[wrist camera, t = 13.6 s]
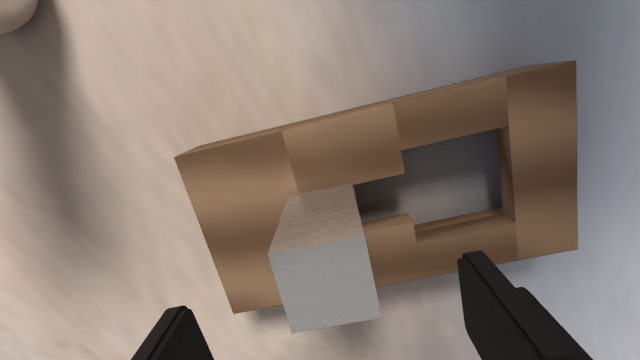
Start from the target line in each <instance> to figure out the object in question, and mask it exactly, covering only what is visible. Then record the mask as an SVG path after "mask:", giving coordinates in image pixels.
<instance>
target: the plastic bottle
mask: <svg viewBox="0 0 640 360" xmlns="http://www.w3.org/2000/svg"><path fill="white" fill-rule="evenodd" d="M37 5H38V0H0V34H4V33H9V32H12V31H14V30H16V29H18V28H20V27H21V26H22V25H24V24H25V23H26V22H27V21H29V20H30V19H31V17H32V16H33V15H34V13H35V11H36V8H37Z"/></svg>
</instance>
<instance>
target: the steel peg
mask: <svg viewBox="0 0 640 360" xmlns="http://www.w3.org/2000/svg"><path fill="white" fill-rule="evenodd" d="M267 255H268V258H269V261H270V264H271V267H272V271H273V274H274V277H275V280H276V283H277V287H278V290H279V293H280V296H281V299H282V303H283V306H284V309H285V312H286V315H287V319H288V322H289V325H290V328H291V331H292V333H296V332H302V331H308V330H314V329H320V328H326V327H331V326H337V325H343V324H349V323H355V322H361V321H366V320H372V319H378V318H382V316H381V311H380V306H379V302H378V297H377V292H376V287H375V283H374V278H373V273H372V268H371V263H370V259H369V254H368V249H367V244H366V240H365V235H364V231H363V227H362V223H361V219H360V215H359V211H358V207H357V195H356V191H355V187H354V185H352V183H350V184H345V185H340V186H335V187H331V188H326V189H321V190H316V191H312V192H307V193H302V194H298V195H293V196H289V197H288V199H287V202H286V205H285V208H284V210H283V213H282V216H281V219H280V221H279V224H278V227H277V230H276V232H275V235H274V238H273V241H272V243H271V246H270V249H269V252H268V254H267Z"/></svg>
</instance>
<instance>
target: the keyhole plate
mask: <svg viewBox="0 0 640 360" xmlns="http://www.w3.org/2000/svg"><path fill="white" fill-rule="evenodd" d="M493 129H496V131H497V144H498V156H499V169H500V181H501V193H502V206H503V207H502V208H497V209H492V210H487V211H482V212H477V213H472V214H467V215H462V216H458V217H453V218H448V219H443V220H438V221H433V222H428V223H423V224H418V225H414V224H413V221H412V220H411V218H410V216H409V215H408V214H403V215H398V216H393V217H388V218H384V219H379V220H374V221H369V222H364V223H362V227H363V231H364V235H365V240H366V244H367V249H368V254H369V259H370V263H371V268H372V273H373V278H374V283H375V287H379V286H384V285H389V284H395V283H400V282H405V281H411V280H416V279H421V278H427V277H432V276H437V275H443V274H448V273H453V272H458V264H457V260H458V259H460V258H462V254H463V253H467V252H472V251H477V250H482V251H483V252H484V253H485V254H486V255H487V257H488V258H489V259H490V260H491V261H492V262H493V263H494V264H495V265H496V264H501V263H506V262H512V261H517V260H522V259H528V258H533V257H538V256H544V255H549V254H554V253H560V252H565V251H570V250H576V249H578V243H577V119H576V60H575V61H566V62H557V63H548V64H539V65H530V66H526V67H522V68H518V69H514V70H510V71H506V72H501V73H497V74H493V75H489V76H485V77H481V78H477V79H473V80H469V81H464V82H460V83H456V84H452V85H448V86H444V87H440V88H436V89H431V90H427V91H423V92H419V93H415V94H411V95H407V96H403V97H399V98H394V99H390V100H386V101H382V102H378V103H374V104H370V105H366V106H361V107H357V108H353V109H349V110H345V111H341V112H337V113H333V114H329V115H324V116H320V117H316V118H312V119H308V120H304V121H300V122H296V123H291V124H287V125H283V126H279V127H275V128H271V129H267V130H263V131H259V132H254V133H250V134H246V135H242V136H238V137H234V138H230V139H226V140H221V141H217V142H213V143H209V144H205V145H201V146H198V147H196V148H194V149H191V150H189V151H187V152H185V153H183V154H180V155H178V156H176V157H174V158H175V161H176V164H177V166H178V169H179V172H180V174H181V177H182V179H183V182H184V185H185V187H186V190H187V193H188V195H189V198H190V200H191V203H192V206H193V208H194V211H195V214H196V216H197V219H198V222H199V224H200V227H201V229H202V232H203V235H204V237H205V240H206V243H207V245H208V248H209V250H210V253H211V256H212V258H213V261H214V264H215V266H216V269H217V271H218V274H219V277H220V279H221V282H222V285H223V287H224V290H225V292H226V295H227V298H228V300H229V303H230V306H231V308H232V311H233V313H234V314H235V313H240V312H246V311H251V310H256V309H262V308H267V307H272V306H278V305H283V303H282V299H281V296H280V293H279V290H278V287H277V283H276V280H275V277H274V274H273V271H272V267H271V264H270V261H269V258H268V255H267V254H268V252H269V249H270V246H271V243H272V241H273V238H274V235H275V232H276V230H277V227H278V224H279V221H280V219H281V216H282V213H283V210H284V208H285V205H286V202H287V199H288V197H289V196H293V195H298V194H302V193H307V192H312V191H316V190H321V189H326V188H331V187H335V186H340V185H345V184H350V183H352V185H355V184H360V183H364V182H369V181H373V180H378V179H382V178H387V177H392V176H396V175H401V174H405V170H404V165H403V159H402V153H401V150H405V149H410V148H414V147H418V146H423V145H427V144H432V143H436V142H440V141H445V140H449V139H454V138H458V137H462V136H467V135H471V134H476V133H480V132H484V131H489V130H493Z"/></svg>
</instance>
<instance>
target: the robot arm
mask: <svg viewBox="0 0 640 360" xmlns="http://www.w3.org/2000/svg"><path fill="white" fill-rule="evenodd" d="M457 264H458V272H459V281H460V289H461V297H462V305H463V314H464V322H465V327H466V330H467V333H468V335H469V337H470V339H471V341H472V343H473V344H474V346H475V348H476V350H477V352H478V354H479V355H480V357H481V359H482V360H593V359H592V358H591V357H590V356H589V355H588V354H587V353H586V352H585V351H584V350H583V349H582V347H581V346H580V345H579V344H578V343H577V342H576V341H575V340H574V339H573V338H572V337H571V336H570V335H569V334H568V333H567V331H566V330H565V329H564V328H563V327H562V326H561V325H560V324H559V323H558V322H557V321H556V320H555V319H554V318H553V316H552V315H551V314H550V313H549V312H548V311H547V310H546V309H545V308H544V307H543V306H542V305H541V304H540V303H539V302H538V300H537V299H536V298H535V297H534V296H533V295H532V294H531V293H530V292H529V291H528V290H527V289H526V288H523V287H519V288H515V287H514V286H513V285H512V284H511V283H510V281H509V280H508V279H507V278H506V277H505V276H504V275H503V273H502V272H501V271H500V270H499V269H498V268H497V267H496V266H495V264H494V263H493V262H492V261H491V260H490V259H489V258H488V257H487V255H486V254H485V253H484V252H483V251H482V250H477V251H472V252H467V253H463V254H462V258H460V259H458V260H457ZM131 360H214V358H213V356H212V354H211V352H210V350H209V347H208V345H207V343H206V341H205V338H204V336H203V334H202V332H201V329H200V327H199V325H198V323H197V321H196V318H195V316H194V314H193V312H192V310H191V309H188V308H187V307H186V306H179V307H173V308H169V309H167V310H166V311H165V312H164V313H163V315H162V316H161V318H160V319H159V321H158V322H157V323H156V325H155V326H154V328H153V329H152V330H151V332H150V333H149V335H148V336H147V338H146V339H145V340H144V342H143V343H142V345H141V346H140V348H139V349H138V350H137V352H136V353H135V355H134V356H133V357H132V359H131Z"/></svg>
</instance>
